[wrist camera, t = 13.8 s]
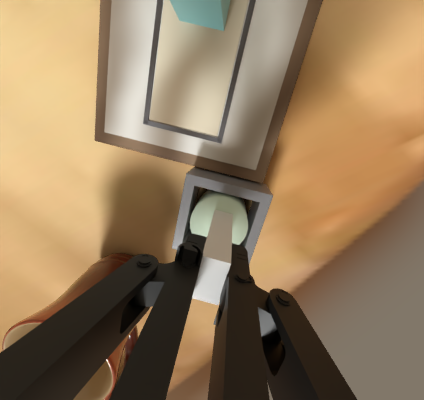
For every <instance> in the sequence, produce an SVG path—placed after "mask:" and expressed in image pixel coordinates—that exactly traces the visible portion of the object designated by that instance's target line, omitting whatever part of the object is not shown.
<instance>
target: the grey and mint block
mask: <svg viewBox="0 0 424 400" xmlns="http://www.w3.org/2000/svg"><path fill="white" fill-rule="evenodd" d="M170 2H171V4H172V6H173V8H174V10H175V12H176V14H177V16H178V19H179V21H183V22H187V23H191V24H196V25H200V26H204V27H208V28H213V29H217V30H221V31H224V29H225V24H226V19H227V15H228V10H229V5H230V0H170Z"/></svg>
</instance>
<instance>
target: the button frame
mask: <svg viewBox="0 0 424 400" xmlns="http://www.w3.org/2000/svg"><path fill="white" fill-rule="evenodd" d="M199 187H202V188H206V189H210V190H214V191H217V192H221V193H225V194H229V195H233V196H237V197H241V198H245V199H249V200H252V202H251V206H250V209H249V212H248V215H247V219H248V231H247V234H246V237H245V238H244V240H243V241H242V242H241V243H240V244H239V245H241V246H244V247H245V248H246V250H247V251H248V261H249V263H250V260H251V257H252V255H253V252H254V249H255V246H256V243H257V240H258V237H259V235H260V232H261V229H262V226H263V223H264V220H265V217H266V215H267V212H268V209H269V206H270V203H271V200H272V197H273V194H272V193H271V191H270V190H269V188H268V186H267V185H266V184H263V183H260V182H256V181H252V180H248V179H244V178H240V177H236V176H232V175H228V174H224V173H220V172H216V171H212V170H208V169H204V168H200V167H196V166H195V167H194V168H192V169H191V170H190V171H189V172H188V173H186V178H185V183H184V189H183V194H182V199H181V204H180V209H179V214H178V219H177V225H176V230H175V235H174V240H173V245H172V248H173V249H176V250H177V248H178V246H179V245H180V244H182V243H185V242H186V240H187V238H188V236H189V235H191V234H192V232H191V229H190V218H191V215H192V213H193V211H194V208H195V204H196V199H197V195H198V190H199Z"/></svg>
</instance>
